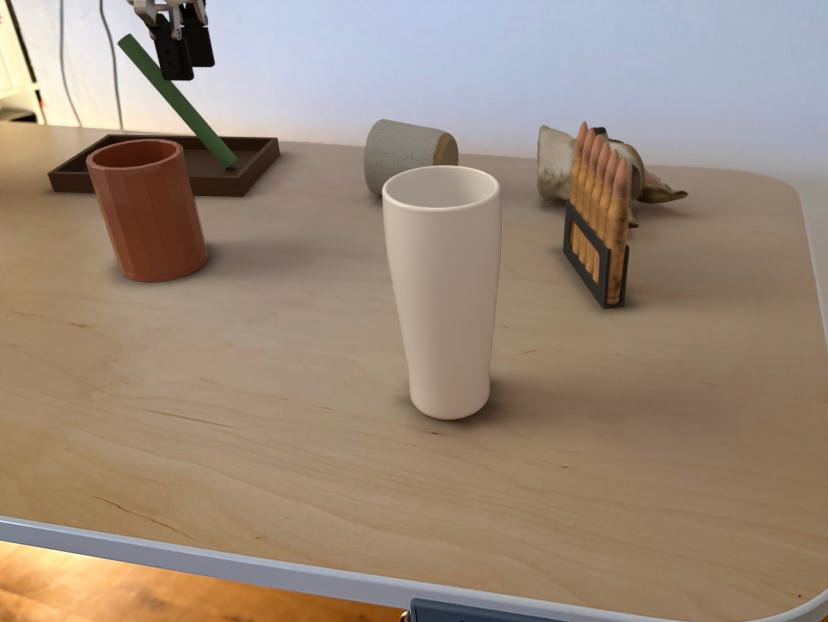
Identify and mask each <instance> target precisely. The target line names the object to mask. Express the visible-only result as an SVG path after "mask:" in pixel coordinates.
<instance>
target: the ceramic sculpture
mask: <svg viewBox="0 0 828 622" xmlns="http://www.w3.org/2000/svg"><path fill="white" fill-rule="evenodd" d="M592 128H593V129H594V132H595V136H596V137H597V135H598V134H600V135H601V137H602V141H603V145H604V144H605V142H609V145H610V148H611V154H612V152H613V150H614V149H617V151H618V154H619V159H620V161H621V160H622V158H623V157H625V158H626V159H627V162H628V167H629V177H630V185H629V204H628V207H629V223H628V229H638V228H639V226H640V225H639V223H638V222H637V220H636V218H635V216H634V212H633V208H632V206H633V205H634V204H635V203H636V202H639V203H641V204H647V205H657V204H658V205H659V204H664V203H669V202H674V201H678V200H681V199H685V198H688V196H689V192H687V191H685V190H675V189H672V188H671V187H670V186H669V184H667V183H665V182H662V180H661V178H660V177H658V176H657V175H656V174H655V173H652V172H649V171H648V169H646V168H645V165H644V161H643V160H642V157H641V155H640V154H639V152H638V150H637V149H636V148H635V147H634V146H633V145H631V144H629V143H625V142H624V141H622V140H619V139H612V138H610V137H609V134H608V132H607V129H606V128H605V127H604V126H598V127H596V126H593V127H592ZM588 131H589V129H588ZM576 142H577V137H575V138H574V137H573V136H571V135H569V134H568V133H567V132H564V131H560V130H558V129H556V128H551V127H550V126H548V125H546V124H542V125H541V126H540V127H539V131H538V138H537V145H536V146H537V151H536V158H537V159H536V161H537V163H536V164H537V170H536V175H537V179H536V188H537V193H538V194H539V196H540V197H541V199H542V200H544V201H545V202H553V201H558V200H561V199H563V200H564V201H566V200H567V199H570V186H571V173H572V168H573V165H574V157H575V149H576Z"/></svg>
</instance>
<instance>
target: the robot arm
mask: <svg viewBox="0 0 828 622" xmlns="http://www.w3.org/2000/svg"><path fill="white" fill-rule="evenodd" d="M125 2H127V4H129V6H131V7H133V12H134V13H135V15H136V16H137V17H138V18H139V19H140V20H141V21H142V22H143V23H144V25H145V27H146V28H147V29H148V33H149V37H150V39H151V40H152V41H153V44H154V49H155V53H156V57H157V61H158V66H159V67H160V69H161V74H162V77H163V79H164V80H166V81H172V82H191V81H192V80H194V79H195V73H194V69H193V68H213V67H214V66H216V59H215V56H214V55H215V54H214V50H213V46H212V40H211V35H210V29H209V27H208V26H209V17H208V15H207V11H206V6H207V0H163V2H165V3H156V0H125ZM184 4H185V5H184ZM164 13H167V14H168V18H167V17H166V16H165V14H164Z"/></svg>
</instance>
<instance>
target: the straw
mask: <svg viewBox="0 0 828 622" xmlns="http://www.w3.org/2000/svg"><path fill="white" fill-rule="evenodd" d="M116 45H117V46H118V47H119V48H120V49H121V50H122V52H123V53H124V54H125V55H126V56H127V57H128V59H129V60H130V61H131V62H132V63H133V64H134V66H135V67H136V68H137V69H138V70H139V71H140V72H141V73H142V75H143V76H144V77H145V78H146V79H147V81H148V82H149V83H150V84H151V85H152V87H154V89H155V90H156V91H157V92H158V93H159V94H160V95H161V97H162V98H163V99H164V100H165V102H167V103H168V105H169V106H170V107H171V108H172V109H173V111H174V112H175V113H176V114H177V115H178V116H179V118H181V120H182V121H183V122H184V123H185V124H186V125H187V127H188V128H189V129H190V130H191V131H192V132H193V134H194V136H197V137H198V138H199V139H200V140H201V141H202V143H203V144H204V145H205V146H206V147H207V148H208V150H209V151H210V152H211V153H212V154H213V155H214V156H215V158H216V159H217V160H218V161H219V162H220V163H221V164H222V166H223V167H224V168H225V169H226V168H228V167H229V166H230V165H232V164H233V163H234V162H235V161H236V160H237V157H236V156H235V155H234V154H233V153H232V152H231V150H230V149H229V148H228V147H227V146H226V145H225V143H224V142H223V141H222V140H221V139H220V138H219V136H220V135H218V134H217V133H216V131H215V130H214V129H213V128H212V126H210V124H209V123H208V122H207V121H206V120H205V119H204V117H202V115H201V113H199V112H198V111H197V109H196V108H195V107H194V106H193V105H192V104H191V102H190V101H189V100H188V99H187V98H186V96H185V95H184V93H182V92H181V91H180V90H179V88H178V87H177V86H176V85H175V84H174V81H166V80H164V79H163V77H162V74H161V69H160V65H159V64H158V63H157V62H156V61H155V60H154V59H153V58H152V56H150V54H149V53H148V52H147V51H146V50H145V48H144V47H143V46H142V44H141V43H140V42H138V40H137V39H136V38H135V37H134V35H133V34H132V33H127V34H126V35H124V36H123V37H121V38H120V39H119V40H118V41H117V43H116Z"/></svg>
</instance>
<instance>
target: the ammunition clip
mask: <svg viewBox="0 0 828 622" xmlns="http://www.w3.org/2000/svg"><path fill="white" fill-rule="evenodd" d="M588 130H589V131H588ZM576 138H577V142H576V149H575V157H574V165H573V168H572V173H571V186H570V199H567V200H565V214H564V215H565V216H564V229H563V231H564V232H563V240H562V241H563V242H562V243H563V244H562V253H563V254H564V256H565V257H566V258H567V260H568V261H569V263H570V264H571V266H572V267H573V269H574V270H575V271H576V273H577V274H578V276H579V277H580V278H581V280H582V281H583V283H584V285H585V286H586V287H587V289H588V291H590V293H591V295H592V296H593V297H594V299H595V300H596V302H597V303H598V304H599V306H600V307H601V309H610V308H616V307H617V308H618V307H623V306H624V307H625V302H626V301H625V300H626V290H627V279H628V268H629V260H630V249H631V248H630V246H629V245H628V244H627V242H628V231H629V228H628V223H629V207H628V204H629V185H630V177H629V167H628V162H627V159H626V158H625V157H623V158H622V160H621V161H620V159H619V154H618V151H617V149H614V150H613V152H612V154H611V148H610V145H609V142H605V144H604V145H603V141H602V137H601V135H600V134H598V135H597V137H596V136H595V132H594V129H593V127H590V128H589V126H588V123H587V121H586V120H584V121H582V123H581V124H580V127H579V129H578V133H577V136H576Z"/></svg>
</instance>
